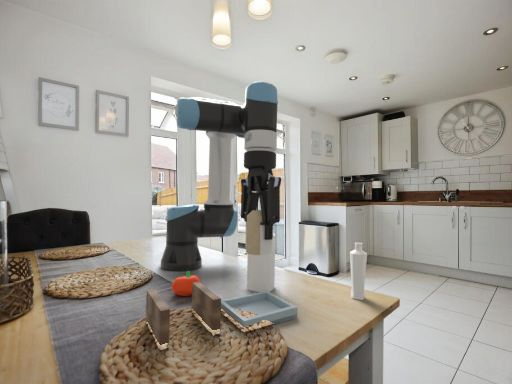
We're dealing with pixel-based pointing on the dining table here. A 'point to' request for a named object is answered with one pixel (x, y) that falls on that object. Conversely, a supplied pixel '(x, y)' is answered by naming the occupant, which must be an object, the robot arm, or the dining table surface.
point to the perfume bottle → (358, 271)
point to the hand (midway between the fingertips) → (257, 251)
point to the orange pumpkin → (184, 284)
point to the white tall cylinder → (261, 271)
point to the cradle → (202, 304)
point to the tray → (259, 308)
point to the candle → (253, 232)
